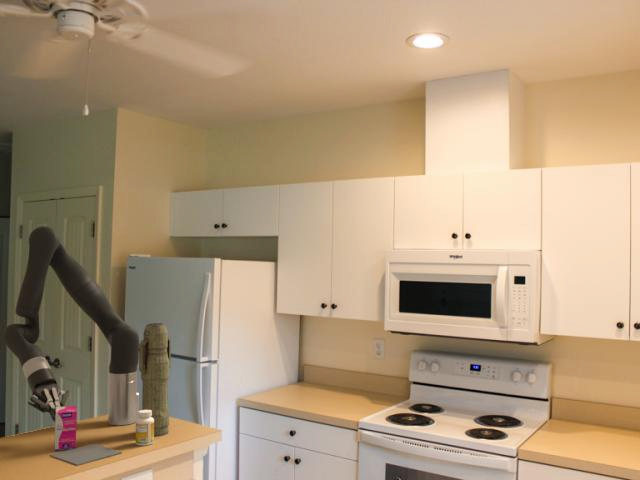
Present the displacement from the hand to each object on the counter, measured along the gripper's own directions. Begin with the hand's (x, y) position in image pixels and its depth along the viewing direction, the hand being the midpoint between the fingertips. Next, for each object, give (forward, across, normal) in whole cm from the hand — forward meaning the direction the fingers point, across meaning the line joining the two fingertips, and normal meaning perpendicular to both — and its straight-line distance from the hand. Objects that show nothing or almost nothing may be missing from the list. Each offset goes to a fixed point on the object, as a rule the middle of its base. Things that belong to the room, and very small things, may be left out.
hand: (59, 420), depth 186 cm
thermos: (+13, +26, -3) cm, 29 cm away
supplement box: (+8, 0, +3) cm, 8 cm away
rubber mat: (+15, 0, -5) cm, 16 cm away
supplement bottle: (+18, +17, -8) cm, 26 cm away
